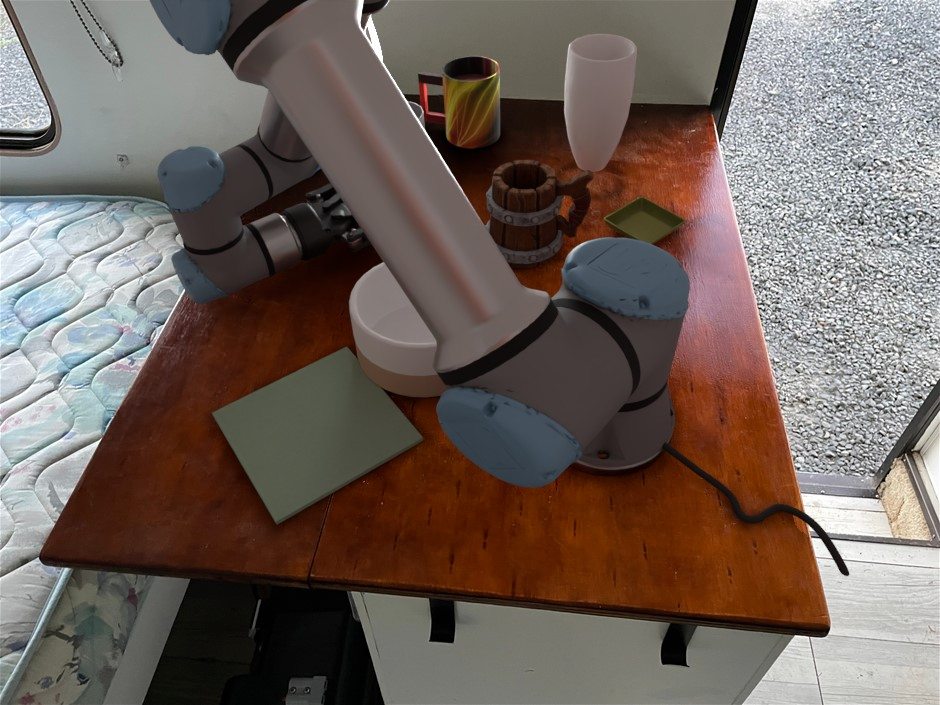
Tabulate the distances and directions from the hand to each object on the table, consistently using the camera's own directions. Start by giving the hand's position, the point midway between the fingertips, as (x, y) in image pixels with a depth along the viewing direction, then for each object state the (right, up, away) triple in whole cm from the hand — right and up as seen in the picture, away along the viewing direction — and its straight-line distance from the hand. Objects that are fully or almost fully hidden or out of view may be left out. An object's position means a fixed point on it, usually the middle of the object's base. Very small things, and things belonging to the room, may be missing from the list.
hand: (428, 181), depth 106 cm
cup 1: (-5, +5, +14) cm, 16 cm away
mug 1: (+5, +13, +21) cm, 25 cm away
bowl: (+1, -25, -16) cm, 30 cm away
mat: (-12, -34, -24) cm, 43 cm away
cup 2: (+26, +2, +9) cm, 27 cm away
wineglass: (-12, +15, +23) cm, 30 cm away
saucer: (+32, -8, 0) cm, 33 cm away
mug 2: (+16, -10, -2) cm, 19 cm away
